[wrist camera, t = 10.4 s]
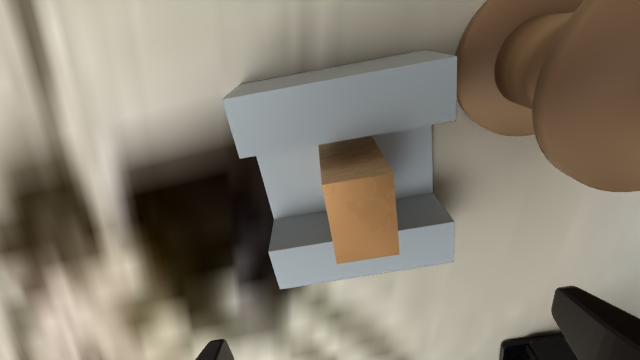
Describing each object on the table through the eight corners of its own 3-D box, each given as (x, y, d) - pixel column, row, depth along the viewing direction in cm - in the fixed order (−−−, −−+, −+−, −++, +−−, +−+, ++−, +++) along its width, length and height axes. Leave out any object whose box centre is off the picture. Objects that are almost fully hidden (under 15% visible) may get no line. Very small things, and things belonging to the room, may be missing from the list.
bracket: (429, 222, 21) (453, 262, 18) (284, 246, 22) (279, 289, 18) (425, 49, 17) (457, 56, 13) (239, 84, 17) (221, 99, 14)
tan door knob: (589, 119, 19) (751, 172, 12) (452, 142, 19) (533, 207, 12) (622, -43, 15) (879, -101, 8) (454, -11, 16) (569, -40, 9)
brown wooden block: (374, 190, 19) (399, 254, 14) (328, 198, 19) (336, 264, 14) (367, 128, 18) (393, 172, 12) (317, 136, 18) (321, 185, 12)
